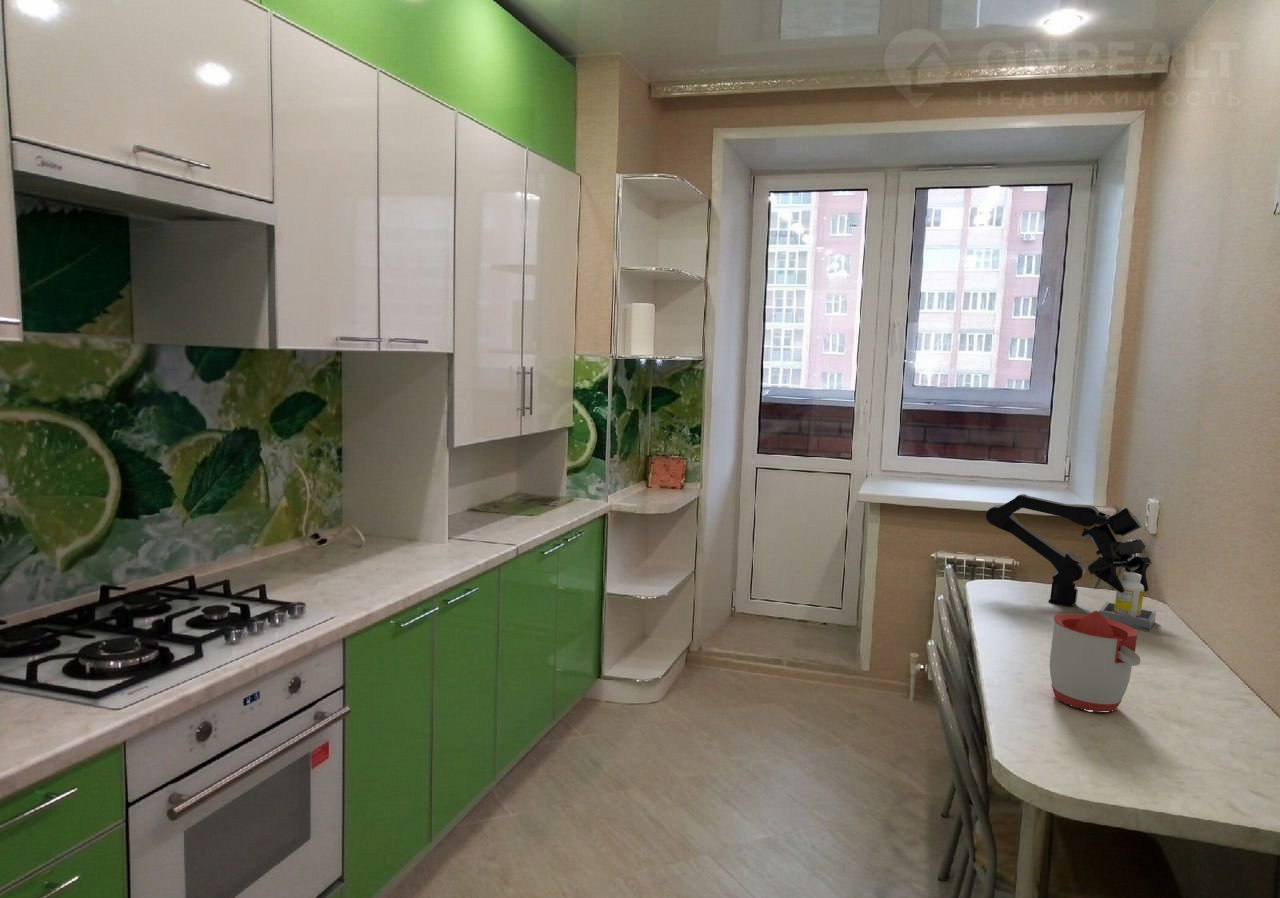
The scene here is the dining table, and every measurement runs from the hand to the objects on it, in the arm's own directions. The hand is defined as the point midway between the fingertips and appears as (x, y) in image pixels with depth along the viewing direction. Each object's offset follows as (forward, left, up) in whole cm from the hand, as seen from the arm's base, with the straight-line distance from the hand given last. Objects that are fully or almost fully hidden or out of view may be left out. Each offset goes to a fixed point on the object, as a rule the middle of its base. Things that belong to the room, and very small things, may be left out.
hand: (1134, 591), depth 241 cm
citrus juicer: (+2, -77, -9) cm, 78 cm away
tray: (-1, +1, -9) cm, 9 cm away
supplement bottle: (-1, +1, -8) cm, 8 cm away
